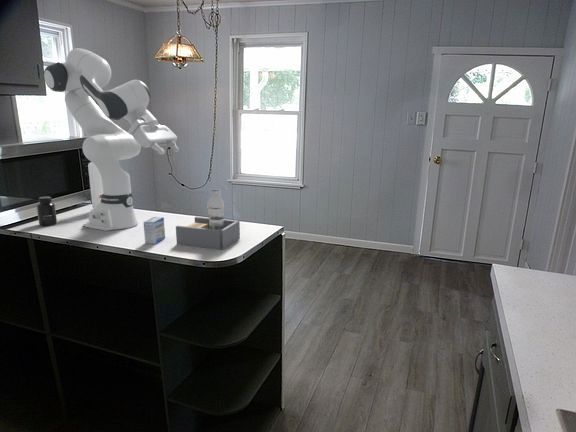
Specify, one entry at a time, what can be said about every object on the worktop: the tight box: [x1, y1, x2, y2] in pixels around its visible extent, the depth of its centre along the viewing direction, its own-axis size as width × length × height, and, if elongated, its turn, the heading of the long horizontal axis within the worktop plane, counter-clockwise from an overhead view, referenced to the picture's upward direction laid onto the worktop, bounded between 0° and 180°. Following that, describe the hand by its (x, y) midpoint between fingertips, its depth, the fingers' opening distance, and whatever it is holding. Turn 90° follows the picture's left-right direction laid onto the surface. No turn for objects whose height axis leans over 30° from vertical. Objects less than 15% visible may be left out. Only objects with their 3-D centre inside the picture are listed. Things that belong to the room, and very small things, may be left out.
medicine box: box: [143, 216, 166, 245], centre depth 156 cm, size 8×4×9 cm, turn 170°
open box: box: [175, 216, 241, 250], centre depth 156 cm, size 19×15×7 cm
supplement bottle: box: [36, 195, 58, 227], centre depth 175 cm, size 7×7×12 cm
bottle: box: [87, 161, 103, 209], centre depth 197 cm, size 8×8×28 cm
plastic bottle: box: [206, 189, 225, 230], centre depth 154 cm, size 6×7×20 cm
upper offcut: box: [186, 222, 208, 229], centre depth 158 cm, size 6×9×3 cm, turn 160°
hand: (170, 152), depth 155 cm, fingers open, 8 cm apart
